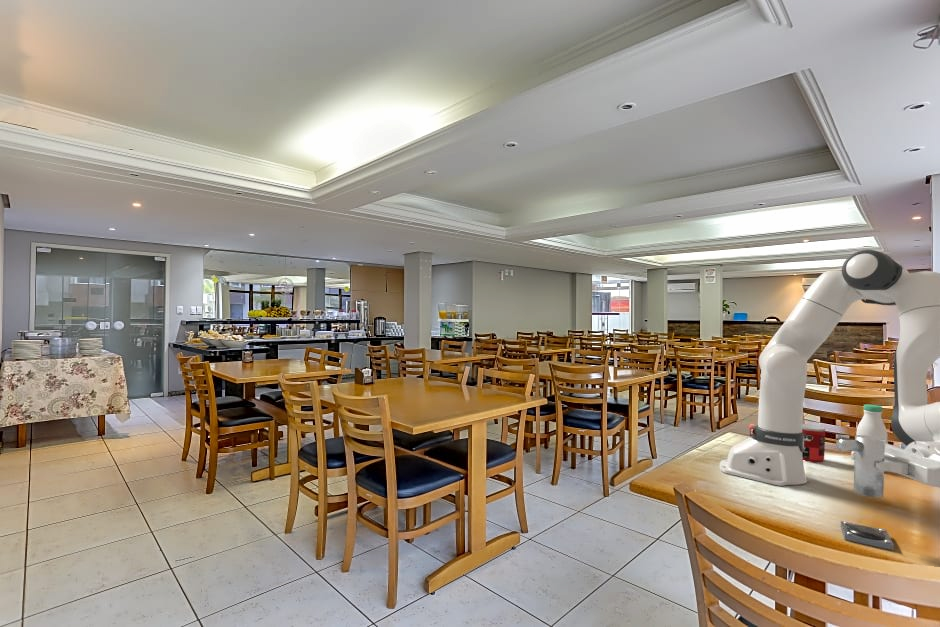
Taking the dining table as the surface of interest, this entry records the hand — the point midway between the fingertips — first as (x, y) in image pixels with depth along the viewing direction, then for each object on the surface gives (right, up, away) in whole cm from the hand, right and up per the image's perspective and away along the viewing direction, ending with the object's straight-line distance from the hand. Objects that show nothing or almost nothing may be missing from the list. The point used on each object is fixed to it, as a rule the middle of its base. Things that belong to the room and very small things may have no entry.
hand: (865, 460), depth 104 cm
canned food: (+28, -17, +56) cm, 65 cm away
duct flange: (0, -17, 0) cm, 17 cm away
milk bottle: (+42, -17, +49) cm, 66 cm away
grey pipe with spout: (-1, -7, 0) cm, 7 cm away
